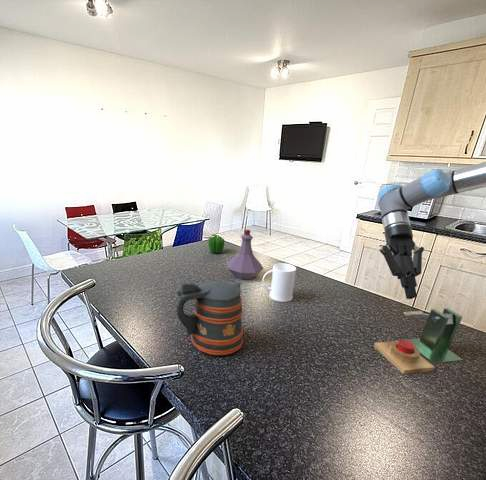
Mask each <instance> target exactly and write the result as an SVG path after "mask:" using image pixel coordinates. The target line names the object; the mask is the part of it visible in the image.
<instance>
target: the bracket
mask: <svg viewBox="0 0 486 480" xmlns="http://www.w3.org/2000/svg"><path fill="white" fill-rule="evenodd" d="M442 313H444V314H452V315H453V324H447V322H448V319H449V317H447V316H445V315H444V314H442ZM428 314H429V317H428V318H426V322H425V325H424V328H423V330H422V333H421V336H420V337H419V338H408V339H407V338H406V339H404V340H405V341H409V342H411V343H412V344H414V346H415V347H416V348H417V349H418V350H419V352H420V355H421V356H422V357H423V358H425V359H426V360H427V361H428V362H430V363H431V364H440V363H441V364H442V363H451V362H461V361H464V360H463V358H461V357H460V356H458V355H457V354H456V353H454V352H453V351H452V350H450V348H451V346H452V343H453V340H454V338H455V336H456V333H457V331H458V329H459V326H460V324H461V322H462V319H463V315H461V314H459V313H457V312H455V311H454V310H452V309H450V308H448V307H445V308H443V311H442V312H440V311H439V310H438V309H435V308H431V309H430V312H429V313H428Z"/></svg>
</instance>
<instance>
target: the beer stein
mask: <svg viewBox="0 0 486 480" xmlns="http://www.w3.org/2000/svg"><path fill="white" fill-rule="evenodd" d="M180 288H181V289H178V290H176V295H177V296H178V297H179V299H178V301H177V304H176V315H177V318H178V320H179V322H180V323H181V324H182V325H183V327H184V332H185V333H186V334H187V335H188V336H191V337H190V338H191V342H192V345H193V346H194V348H196V349H197V350H198V351H199V352H201V353H203V354H206V355H209V356H215V357H219V356H227V355H232V354H234V353H236V352H237V351H239V350H240V349H241V348H242V346H243V344H244V328H243V327H244V326H243V325H242V316H243V303H242V301H243V299H242V297H241V293H242V292H241V282H237V283H232V282H228V281H221V280H211V281H207V282H204V283H201V284H200V285H199V286H198V285H197V284H195V283H194V282H184V281H183V282H181V286H180ZM191 300H194V308H193V314H186V313H185V311H184V306H185V304H186V302H188V301H191Z"/></svg>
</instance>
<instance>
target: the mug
mask: <svg viewBox="0 0 486 480" xmlns="http://www.w3.org/2000/svg"><path fill="white" fill-rule="evenodd" d="M296 273H297V267H296V266H294V265H293V264H291V263H284V262H280V263H275V264H273V266H272V269H271V270H268V271H266V272H265V273H264V274H263V277H262V281H261V282H262V285H263V287H264V288H265V289H266V290H268V291H269V294H268V296H269V298H270V299H271V300H273V301H276V302H279V303H289V302H291V301H292V300H293V299H294V298H293V293H294V286H295V281H296V280H295V279H296ZM269 274H272V275H271V283H270V286H267V285H266V284H265V278H266V277H267V275H269Z"/></svg>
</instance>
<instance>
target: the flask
mask: <svg viewBox="0 0 486 480" xmlns="http://www.w3.org/2000/svg"><path fill="white" fill-rule="evenodd" d="M243 231H244V234H242V235H241V236H240V238H241V244H240V248H239V250H238V252H237V253H236V254H235V255H234V256H233V257H232V258H231V259H229V260H228V261H226V267H227V270H228V271H229V272H230V273H231V274H232V275H233V277H234V278H237V277H238V278H237V279H240V280H251V279H253V278H255V277H256V276H257V275H259V273H261V272H262V271H263V270H265V269H264V267H263V265H262V263H261V262H260V261H259V260H258V259H257V257H255V255H254V253H253V247H252V241H253V238H254V237H253V236H252V235H251V230H250V229H244V230H243ZM254 276H255V277H254Z"/></svg>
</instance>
